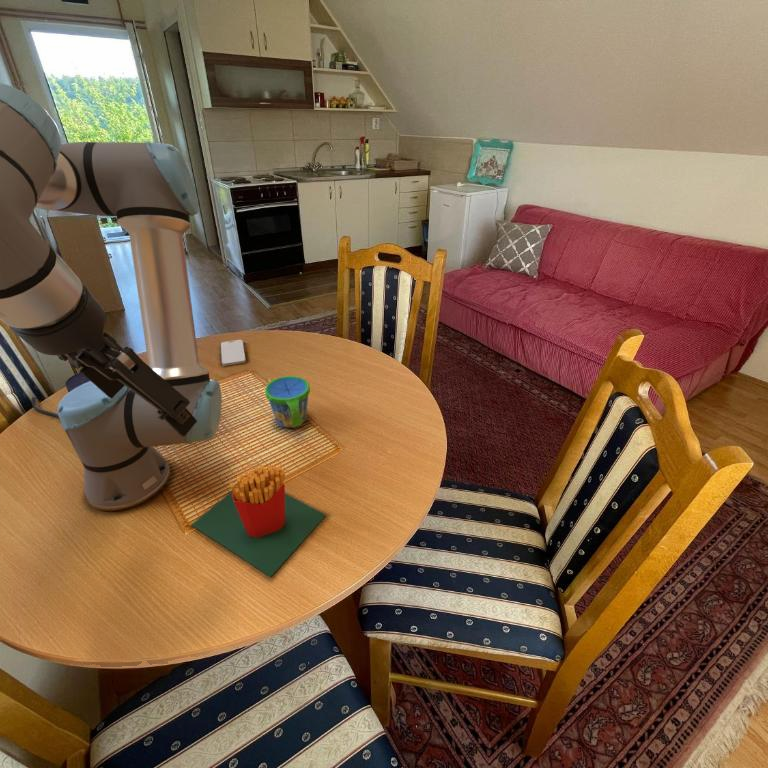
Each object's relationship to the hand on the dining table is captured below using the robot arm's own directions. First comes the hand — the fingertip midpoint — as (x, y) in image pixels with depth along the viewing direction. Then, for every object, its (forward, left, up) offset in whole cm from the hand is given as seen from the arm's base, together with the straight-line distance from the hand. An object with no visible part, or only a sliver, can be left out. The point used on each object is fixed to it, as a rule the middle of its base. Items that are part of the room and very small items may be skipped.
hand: (152, 408), depth 59 cm
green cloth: (+6, +9, -30) cm, 32 cm away
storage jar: (-44, +10, -30) cm, 54 cm away
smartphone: (-50, +53, -30) cm, 79 cm away
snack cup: (-10, +36, -30) cm, 48 cm away
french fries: (+8, +9, -30) cm, 32 cm away
